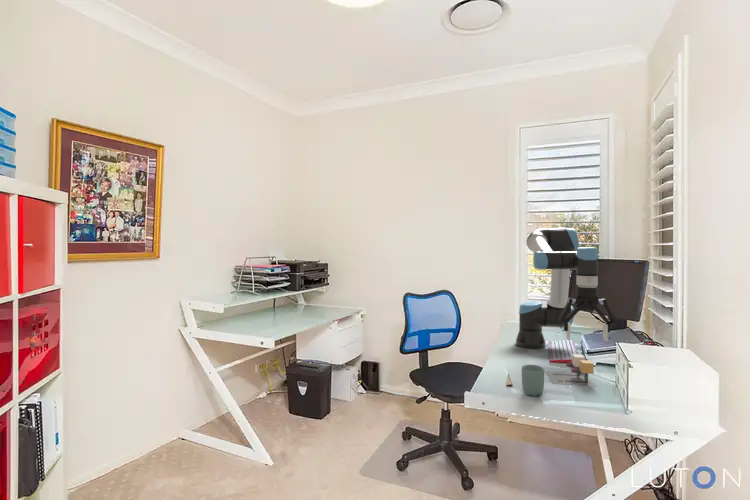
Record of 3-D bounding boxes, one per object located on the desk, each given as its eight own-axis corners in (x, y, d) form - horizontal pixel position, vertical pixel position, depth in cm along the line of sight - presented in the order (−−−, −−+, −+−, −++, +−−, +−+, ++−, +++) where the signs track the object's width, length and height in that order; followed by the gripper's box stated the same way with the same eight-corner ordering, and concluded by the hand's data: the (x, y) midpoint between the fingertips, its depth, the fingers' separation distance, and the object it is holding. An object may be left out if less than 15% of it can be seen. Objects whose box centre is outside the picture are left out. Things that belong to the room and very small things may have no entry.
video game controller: (580, 379, 172) (588, 365, 171) (570, 373, 173) (578, 359, 172) (573, 371, 182) (581, 358, 181) (564, 366, 182) (571, 353, 182)
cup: (517, 392, 154) (517, 366, 154) (532, 388, 157) (532, 363, 157) (532, 399, 147) (532, 372, 147) (548, 396, 150) (548, 369, 150)
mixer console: (543, 373, 175) (543, 370, 175) (583, 375, 172) (583, 372, 172) (552, 386, 159) (552, 383, 159) (596, 389, 156) (596, 386, 156)
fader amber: (579, 379, 163) (579, 359, 162) (589, 380, 162) (590, 360, 162) (582, 383, 159) (582, 362, 159) (593, 383, 158) (593, 363, 158)
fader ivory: (571, 372, 171) (572, 354, 170) (582, 373, 170) (582, 354, 170) (574, 376, 167) (574, 356, 167) (585, 376, 166) (585, 357, 166)
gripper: (555, 286, 158) (555, 340, 158) (625, 288, 153) (625, 343, 154) (551, 284, 165) (550, 336, 166) (617, 285, 161) (617, 338, 161)
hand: (586, 339), depth 160 cm, fingers open, 13 cm apart
